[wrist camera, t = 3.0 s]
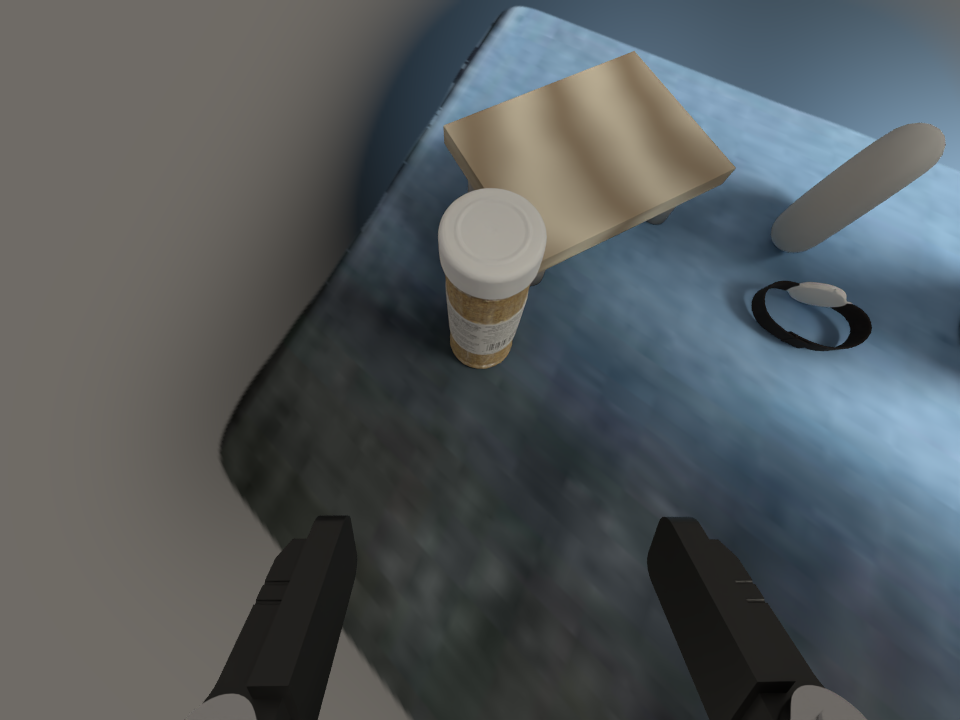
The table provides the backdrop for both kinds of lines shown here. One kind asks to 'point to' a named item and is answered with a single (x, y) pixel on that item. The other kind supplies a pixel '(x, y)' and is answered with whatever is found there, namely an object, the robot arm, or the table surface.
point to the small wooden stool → (590, 154)
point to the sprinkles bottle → (488, 270)
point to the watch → (817, 297)
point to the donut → (858, 186)
